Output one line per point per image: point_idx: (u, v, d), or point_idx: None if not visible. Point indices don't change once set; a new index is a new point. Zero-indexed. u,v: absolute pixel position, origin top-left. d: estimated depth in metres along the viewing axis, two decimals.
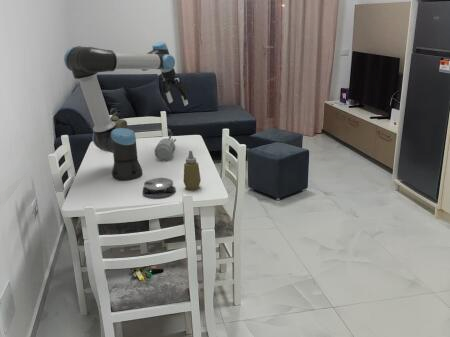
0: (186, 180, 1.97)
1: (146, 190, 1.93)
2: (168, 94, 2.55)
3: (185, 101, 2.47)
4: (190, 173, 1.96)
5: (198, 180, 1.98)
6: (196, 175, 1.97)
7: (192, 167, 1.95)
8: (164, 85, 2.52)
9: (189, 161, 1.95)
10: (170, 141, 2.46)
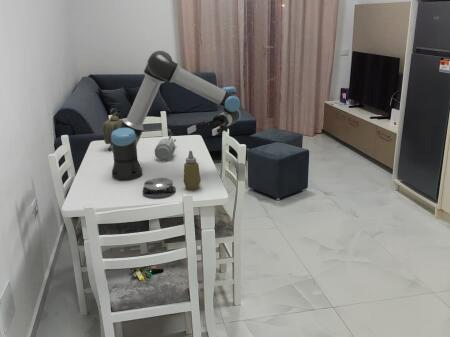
0: (186, 180, 1.97)
1: (146, 190, 1.93)
2: (194, 128, 2.11)
3: (215, 131, 2.02)
4: (190, 173, 1.96)
5: (198, 180, 1.98)
6: (196, 175, 1.97)
7: (192, 167, 1.95)
8: None
9: (189, 161, 1.95)
10: (170, 141, 2.46)
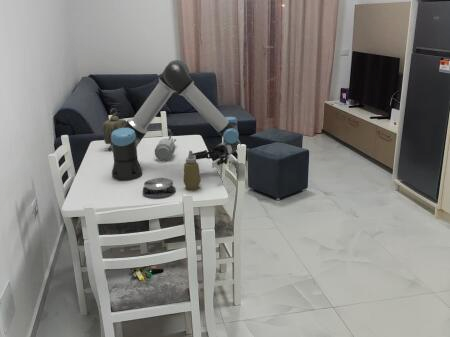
0: (186, 180, 1.97)
1: (146, 190, 1.93)
2: None
3: (215, 163, 2.03)
4: (190, 173, 1.96)
5: (198, 180, 1.98)
6: (196, 175, 1.97)
7: (192, 167, 1.95)
8: None
9: (189, 161, 1.95)
10: (170, 141, 2.46)
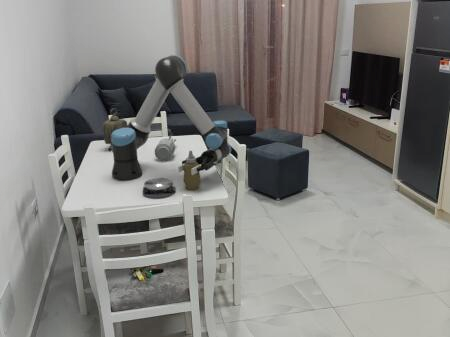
0: (186, 180, 1.97)
1: (146, 190, 1.93)
2: None
3: (195, 170, 1.95)
4: (190, 173, 1.96)
5: (198, 180, 1.98)
6: (196, 175, 1.97)
7: (192, 167, 1.95)
8: None
9: (189, 161, 1.95)
10: (170, 141, 2.46)
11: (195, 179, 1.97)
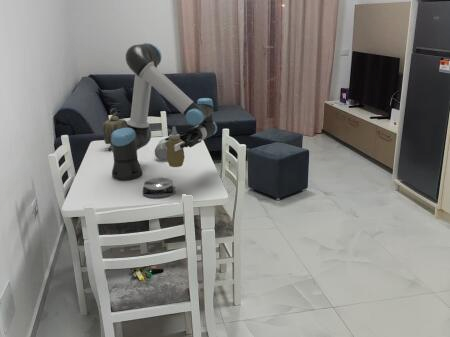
0: (169, 157, 1.91)
1: (146, 190, 1.93)
2: None
3: (178, 146, 1.88)
4: (173, 149, 1.89)
5: (182, 157, 1.92)
6: (180, 152, 1.91)
7: (175, 143, 1.89)
8: None
9: (172, 137, 1.89)
10: None
11: (179, 156, 1.91)
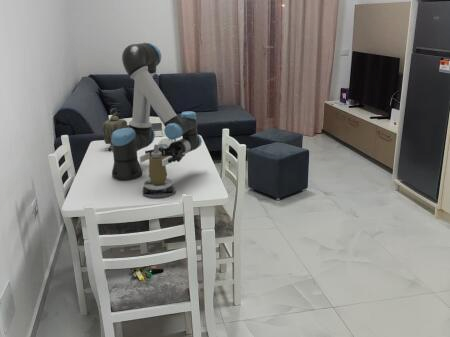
0: (151, 175, 1.92)
1: (146, 190, 1.93)
2: (148, 155, 1.97)
3: (166, 161, 1.88)
4: (155, 167, 1.90)
5: (164, 175, 1.93)
6: (161, 170, 1.92)
7: (157, 161, 1.90)
8: None
9: (154, 155, 1.90)
10: (170, 141, 2.46)
11: (160, 174, 1.92)
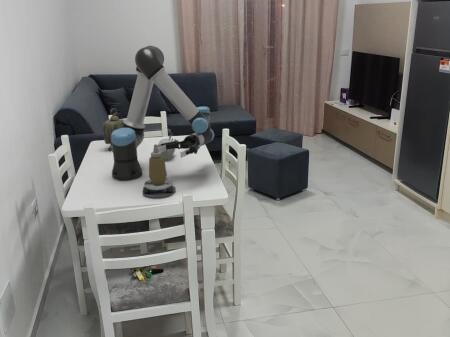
0: (151, 175, 1.92)
1: (146, 190, 1.93)
2: (164, 148, 2.08)
3: (184, 153, 1.99)
4: (155, 167, 1.90)
5: (164, 175, 1.93)
6: (161, 170, 1.92)
7: (157, 161, 1.90)
8: None
9: (154, 155, 1.90)
10: (170, 141, 2.46)
11: (160, 174, 1.92)
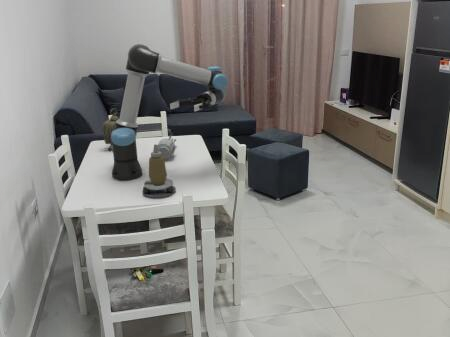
0: (151, 175, 1.92)
1: (146, 190, 1.93)
2: (177, 104, 2.12)
3: (198, 107, 2.03)
4: (155, 167, 1.90)
5: (164, 175, 1.93)
6: (161, 170, 1.92)
7: (157, 161, 1.90)
8: None
9: (154, 155, 1.90)
10: (170, 141, 2.46)
11: (160, 174, 1.92)
